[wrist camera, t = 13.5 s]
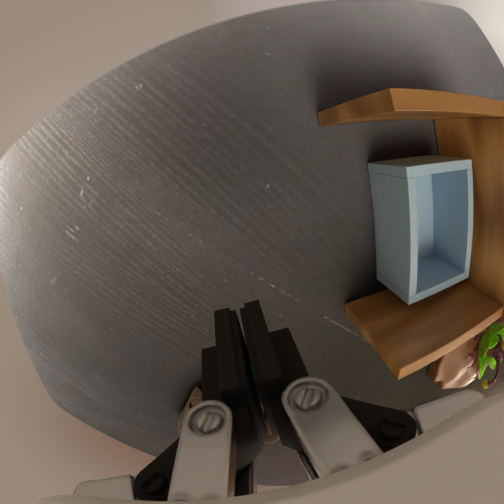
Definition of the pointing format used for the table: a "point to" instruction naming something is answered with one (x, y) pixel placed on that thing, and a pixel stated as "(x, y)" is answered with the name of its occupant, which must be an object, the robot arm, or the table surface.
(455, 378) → the plant
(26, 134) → the table surface
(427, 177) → the basket
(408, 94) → the shelf
